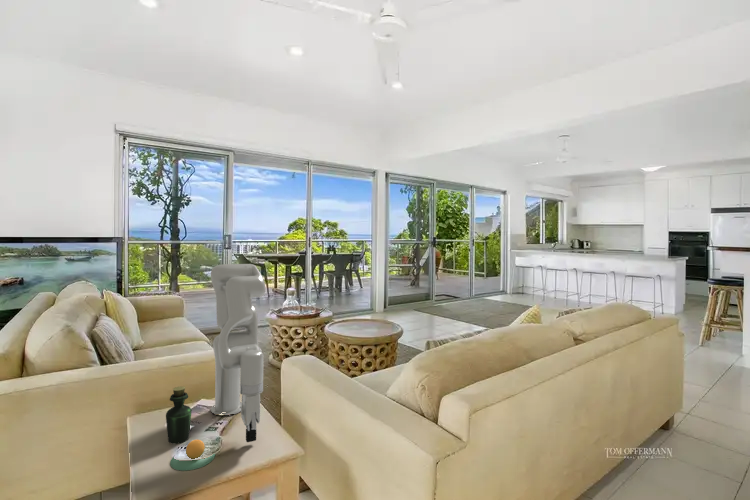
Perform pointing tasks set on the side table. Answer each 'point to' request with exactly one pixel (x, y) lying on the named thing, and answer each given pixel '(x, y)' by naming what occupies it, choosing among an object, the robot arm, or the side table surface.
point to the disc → (190, 463)
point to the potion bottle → (178, 417)
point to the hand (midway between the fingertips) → (251, 440)
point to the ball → (195, 449)
